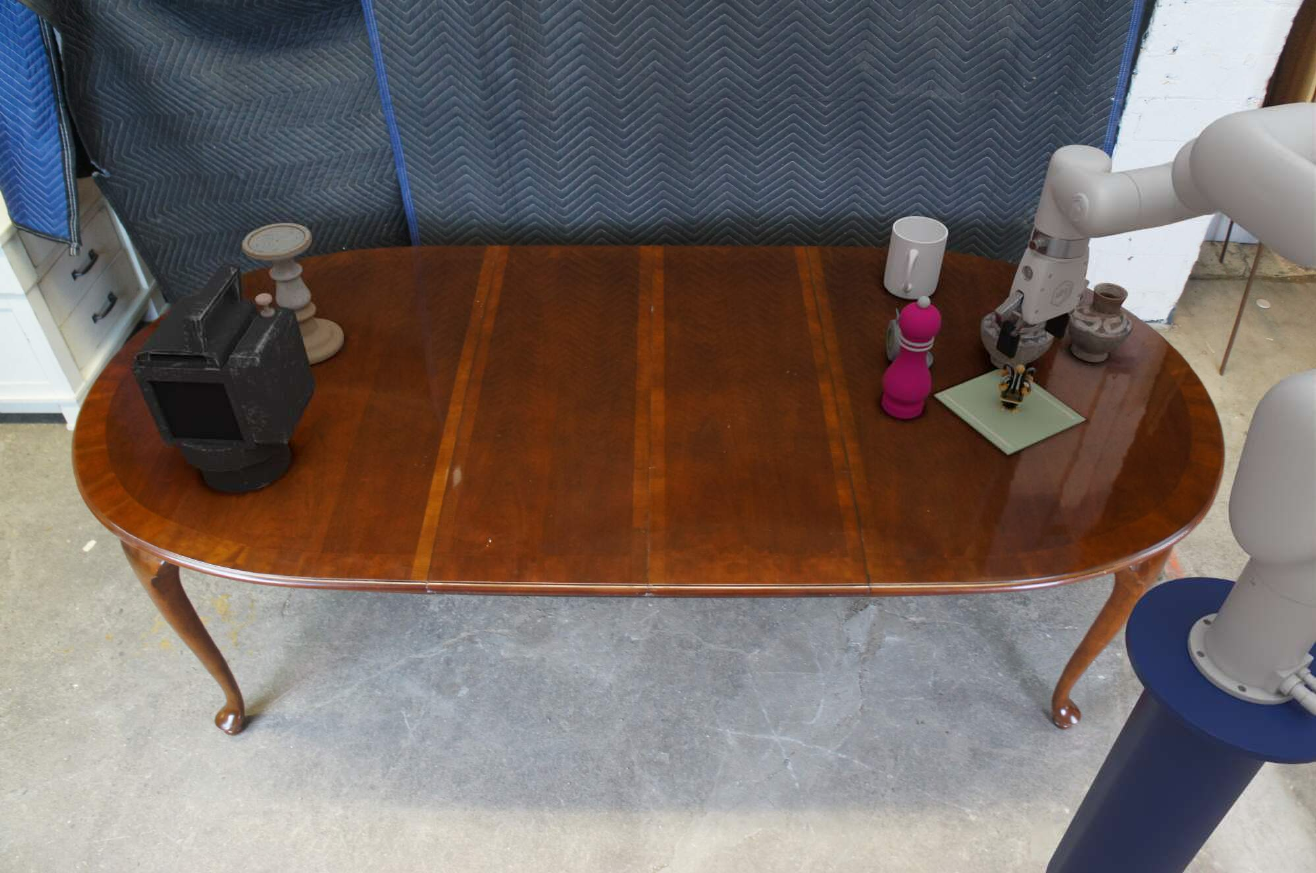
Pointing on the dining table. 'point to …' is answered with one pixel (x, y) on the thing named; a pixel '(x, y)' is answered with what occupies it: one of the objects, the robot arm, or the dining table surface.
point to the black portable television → (227, 382)
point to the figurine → (1014, 387)
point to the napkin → (1008, 412)
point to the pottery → (1088, 329)
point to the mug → (915, 257)
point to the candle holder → (294, 284)
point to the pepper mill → (911, 361)
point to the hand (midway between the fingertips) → (1029, 344)
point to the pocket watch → (894, 344)
